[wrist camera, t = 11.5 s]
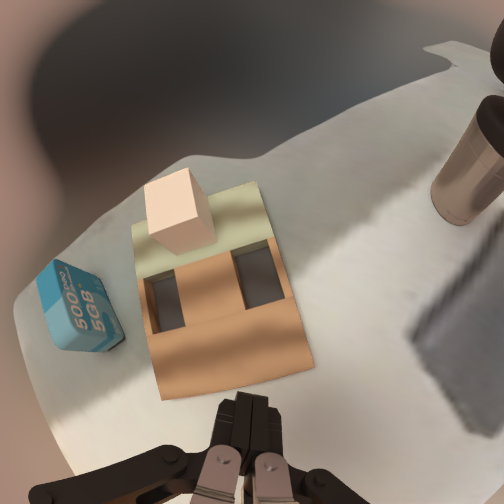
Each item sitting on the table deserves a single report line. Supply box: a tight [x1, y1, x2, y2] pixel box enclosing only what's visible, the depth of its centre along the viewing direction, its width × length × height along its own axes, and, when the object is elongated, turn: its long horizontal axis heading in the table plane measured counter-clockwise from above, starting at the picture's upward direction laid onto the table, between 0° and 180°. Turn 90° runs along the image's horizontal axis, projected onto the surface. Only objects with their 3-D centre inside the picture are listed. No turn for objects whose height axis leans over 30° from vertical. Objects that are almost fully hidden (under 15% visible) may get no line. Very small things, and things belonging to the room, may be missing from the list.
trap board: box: [131, 180, 315, 401], centre depth 37 cm, size 26×20×3 cm
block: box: [144, 168, 218, 256], centre depth 35 cm, size 7×6×8 cm
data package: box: [36, 259, 124, 352], centre depth 34 cm, size 12×4×12 cm, turn 35°
